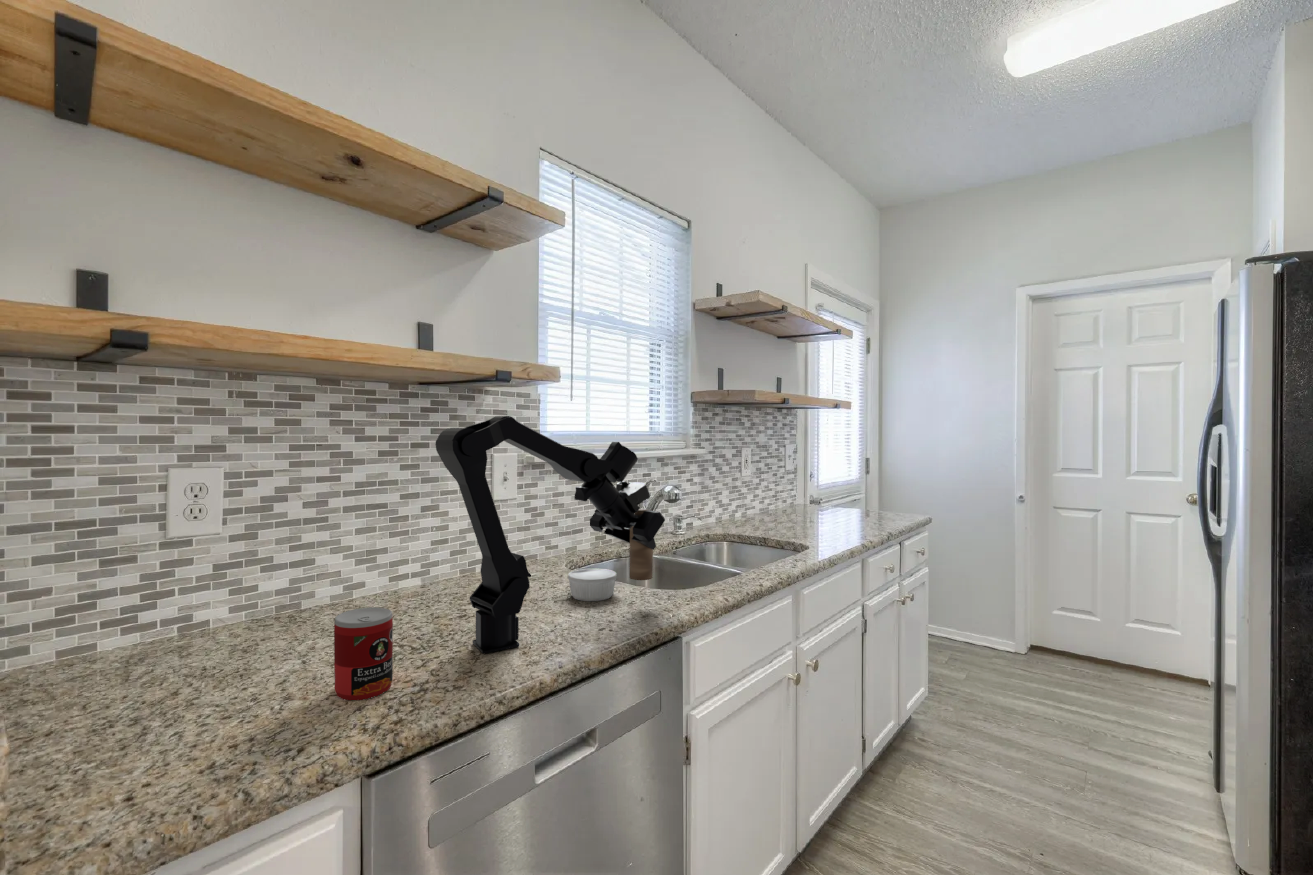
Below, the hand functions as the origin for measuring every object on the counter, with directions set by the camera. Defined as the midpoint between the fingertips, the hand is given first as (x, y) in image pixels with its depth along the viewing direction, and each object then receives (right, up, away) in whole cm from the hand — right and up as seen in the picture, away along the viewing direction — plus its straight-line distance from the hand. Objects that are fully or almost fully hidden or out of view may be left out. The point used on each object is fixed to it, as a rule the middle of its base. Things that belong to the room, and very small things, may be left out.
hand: (646, 546), depth 130 cm
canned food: (-41, -13, -43) cm, 60 cm away
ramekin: (-12, -13, +7) cm, 19 cm away
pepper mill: (-1, -7, -1) cm, 7 cm away
